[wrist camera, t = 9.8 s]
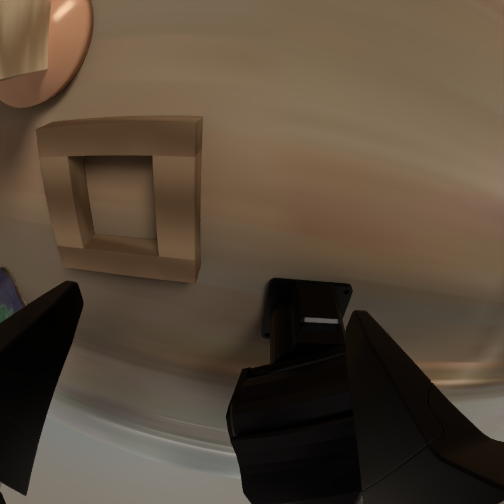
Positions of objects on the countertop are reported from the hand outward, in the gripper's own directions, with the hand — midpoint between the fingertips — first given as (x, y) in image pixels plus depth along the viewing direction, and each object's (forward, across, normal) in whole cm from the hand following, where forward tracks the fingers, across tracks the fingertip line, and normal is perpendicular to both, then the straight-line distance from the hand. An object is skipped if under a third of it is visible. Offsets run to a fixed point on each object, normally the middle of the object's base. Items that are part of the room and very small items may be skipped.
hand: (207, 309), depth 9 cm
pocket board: (+12, +8, +2) cm, 14 cm away
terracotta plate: (+12, +15, -10) cm, 22 cm away
